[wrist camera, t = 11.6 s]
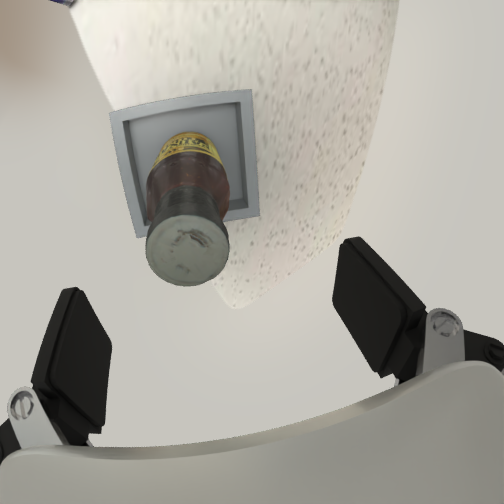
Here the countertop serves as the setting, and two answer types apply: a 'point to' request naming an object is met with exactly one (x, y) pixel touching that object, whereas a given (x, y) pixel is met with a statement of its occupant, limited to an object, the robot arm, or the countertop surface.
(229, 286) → the countertop surface
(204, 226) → the sauce bottle
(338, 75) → the countertop surface
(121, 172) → the dock
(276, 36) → the countertop surface
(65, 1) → the electric cleaning brush
